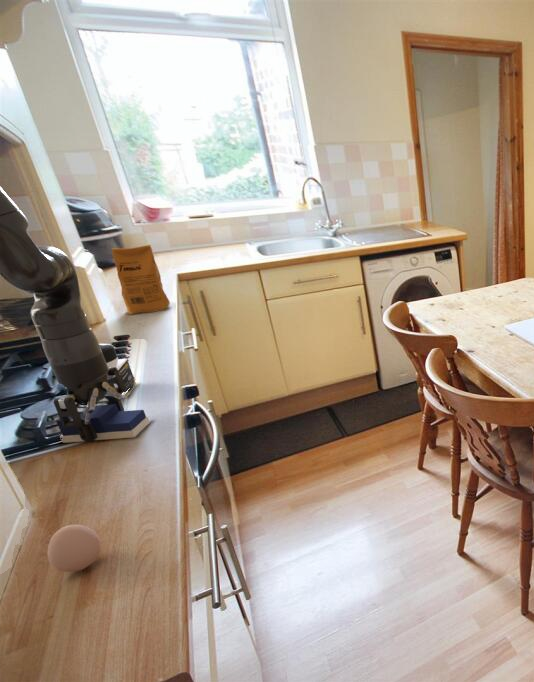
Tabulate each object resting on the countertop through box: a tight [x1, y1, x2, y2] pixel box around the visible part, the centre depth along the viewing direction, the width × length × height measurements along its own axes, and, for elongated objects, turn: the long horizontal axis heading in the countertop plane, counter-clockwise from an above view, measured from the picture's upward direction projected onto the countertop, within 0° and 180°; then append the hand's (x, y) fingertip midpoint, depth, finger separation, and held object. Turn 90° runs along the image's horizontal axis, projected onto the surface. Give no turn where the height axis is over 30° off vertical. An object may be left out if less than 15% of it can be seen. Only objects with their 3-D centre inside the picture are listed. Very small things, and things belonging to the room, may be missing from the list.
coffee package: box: [111, 244, 171, 315], centre depth 159 cm, size 10×12×22 cm
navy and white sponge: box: [55, 404, 151, 444], centre depth 93 cm, size 13×5×5 cm, turn 98°
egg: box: [46, 524, 102, 573], centre depth 63 cm, size 5×5×7 cm
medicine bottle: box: [98, 343, 137, 403], centre depth 106 cm, size 7×7×12 cm
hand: (105, 427), depth 94 cm, fingers open, 8 cm apart
